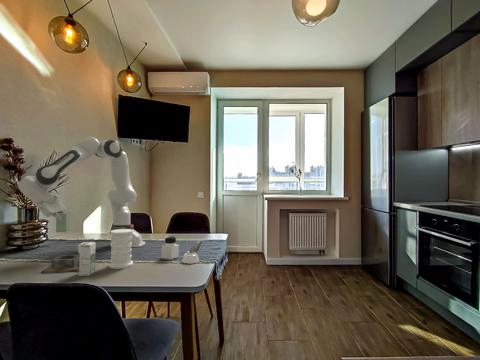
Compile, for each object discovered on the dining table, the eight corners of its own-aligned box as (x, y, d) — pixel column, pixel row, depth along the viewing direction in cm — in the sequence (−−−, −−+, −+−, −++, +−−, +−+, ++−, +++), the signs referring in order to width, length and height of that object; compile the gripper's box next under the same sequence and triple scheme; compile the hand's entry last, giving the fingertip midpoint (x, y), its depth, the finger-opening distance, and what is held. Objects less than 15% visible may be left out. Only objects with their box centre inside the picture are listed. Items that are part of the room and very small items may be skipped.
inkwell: (178, 262, 156) (178, 244, 156) (194, 254, 173) (194, 238, 173) (194, 264, 153) (194, 245, 153) (208, 256, 170) (208, 239, 170)
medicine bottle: (179, 257, 168) (179, 236, 168) (171, 260, 162) (171, 238, 162) (169, 255, 171) (169, 235, 171) (161, 258, 165) (161, 237, 165)
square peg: (69, 230, 163) (70, 212, 163) (66, 232, 158) (66, 213, 158) (60, 230, 162) (60, 212, 162) (56, 232, 157) (56, 213, 157)
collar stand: (89, 262, 156) (89, 252, 156) (78, 271, 140) (78, 260, 140) (56, 263, 153) (56, 253, 153) (41, 272, 137) (41, 262, 137)
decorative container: (109, 270, 142) (110, 233, 142) (108, 264, 153) (108, 229, 153) (134, 267, 148) (135, 231, 148) (131, 261, 158) (132, 228, 158)
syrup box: (82, 272, 138) (82, 241, 138) (95, 272, 139) (95, 241, 139) (76, 276, 133) (77, 244, 133) (90, 276, 133) (90, 244, 133)
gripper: (40, 198, 149) (61, 217, 151) (57, 196, 169) (75, 212, 171) (30, 207, 148) (51, 225, 150) (49, 203, 168) (67, 220, 170)
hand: (64, 218), depth 160 cm, fingers closed on square peg, 5 cm apart
